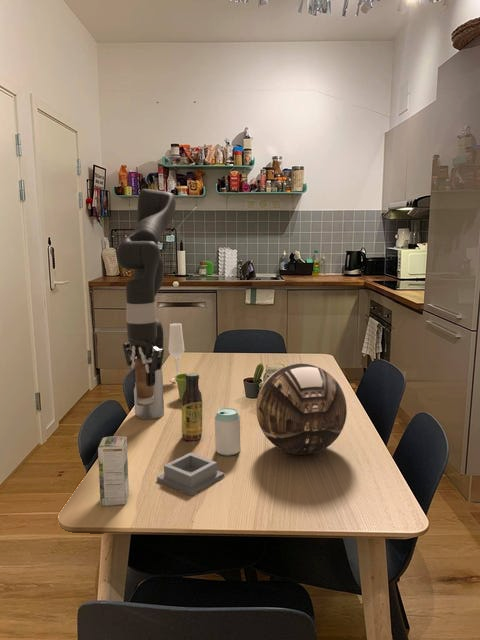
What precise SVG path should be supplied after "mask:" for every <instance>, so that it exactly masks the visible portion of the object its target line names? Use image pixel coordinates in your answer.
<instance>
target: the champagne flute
mask: <svg viewBox="0 0 480 640" xmlns="http://www.w3.org/2000/svg"><path fill="white" fill-rule="evenodd" d="M182 325H183V324H182V323H170V324H169V333H168V334H169V335H168V353H169V354H170V356H172V358H174V359H175V376H176V375H178V374H180V369H179V367H180V366H179V358H180V357H182V355H184V352H185V342H184V335H183V327H182ZM171 379H172V380H175V381H176V379H175V378H174V377H172V378H171Z"/></svg>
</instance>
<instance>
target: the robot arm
mask: <svg viewBox="0 0 480 640" xmlns="http://www.w3.org/2000/svg"><path fill="white" fill-rule="evenodd" d="M176 203H177V202H176V197H175V195H174V193H171V192H169V191H164V190H157V189H149V188H143V189H141V190H140V192H139V194H138V198H137V211H136V216H137V218H136V223H137V224H136V226H135V228H134V230H133V232H132V233H130V234H129V235H128V236H127V237H125V238H124V239H123V240H121V242H120V243H119V245H118V247H117V249H116V260H117V262H118V265H119V266H121V268H123V269H125V270H133V278H131V279H129V280H127V282H126V283H125V291H126V293H125V294H126V296H125V297H126V310H125V312H126V313H125V314H126V334H127V340H128V342H125V343H123V344H122V348H123V352H124V356H125V361H126V364H127V366H130V367H131V369H132V372H133V373H132V374H133V382H134V384H135V387H133V396H134V399H133V400H134V415H136V414H137V415H136V417H137V416H138V417H137V418H139V417H140V418H139V419H141V418H143V420H153V419H154V418H155V419H159V418H161V417H163V416H164V414H165V403H164V381H163V380H164V379H163V377H164V375H163V359H164V354H165V351H164V328H163V324H162V322H161V321H160V319H158V318H157V308H156V300H155V297H156V296H157V295H158V293H159V291H160V289H161V288H162V285H163V282H164V272H165V271H164V270H165V263H164V259H163V257H162V255H161V251H160V247H159V243H160V239H161V236H162V234H163V232H164V231H165V230H166V229H167V228H168V226H169V225H170V224H171V223H172V221H173V218H174V216H175V212H176ZM136 358H141V359H142V362H143V364H144V365H145V368H146V372H147V373H146V383H147V386H149V387H150V386H153V394H154V403H153V404H152V405H148V406H140V405H137V403H136V375H135V359H136ZM149 358H151V360H147V359H149ZM149 363H151V367H150V366H149ZM158 417H159V418H158Z"/></svg>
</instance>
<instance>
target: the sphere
mask: <svg viewBox="0 0 480 640" xmlns="http://www.w3.org/2000/svg"><path fill="white" fill-rule="evenodd" d="M255 404H256V406H255V408H256V409H255V411H256V418H257V422H258V424H259V427H260V429H261V431H262V433H263V434H264V436H265V438H266V439H268V441H269V442H270V443H271V444H272V445H274V446H275V447H276V448H277V449H280V450H282V451H283V452H286V453H289V454H293V455H299V456H306V455H312V454H316V453H319V452H321V451H324V450H325V449H327V448H328V447H330V446H331V445H332V444H333V443H334V442H335V441H336V440H337V439H338V437H339V436H340V434H341V433H342V431H343V430H344V426H345V424H346V421H347V416H348V415H347V413H348V412H347V411H348V409H347V400H346V395H345V394H344V391H343V389H342V387H341V385H340V383H338V381H337V380H336V378H334V376H333V375H331V374H330V373H329V372H328V371H326V370H325V369H323V368H321V367H320V366H316V365H314V364H313V365H312V364H308V363H293V364H289V365H285V366H283V367H281V368H279V369H277V370H275V371H274V372H273V373H271V374H270V375H269V376H268V377H267V379H266V380H265V381H264V382H263V384H261V388H260V389H259V391H258V395H257V400H256V403H255Z"/></svg>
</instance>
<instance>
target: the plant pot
mask: <svg viewBox="0 0 480 640" xmlns="http://www.w3.org/2000/svg"><path fill="white" fill-rule="evenodd" d="M187 373H188V372H183V373H179V374H178V375H176V374H175V376H174V377H173V378H175V379H176V382H177V383H176V385H177V390H178V395H179V400H180V401H182V396H183V394H184V391H185V390H186V379H185V375H186V374H187ZM200 376H201V375H200V374H199V379H198V381H199V380H200V378H201V377H200Z"/></svg>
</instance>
